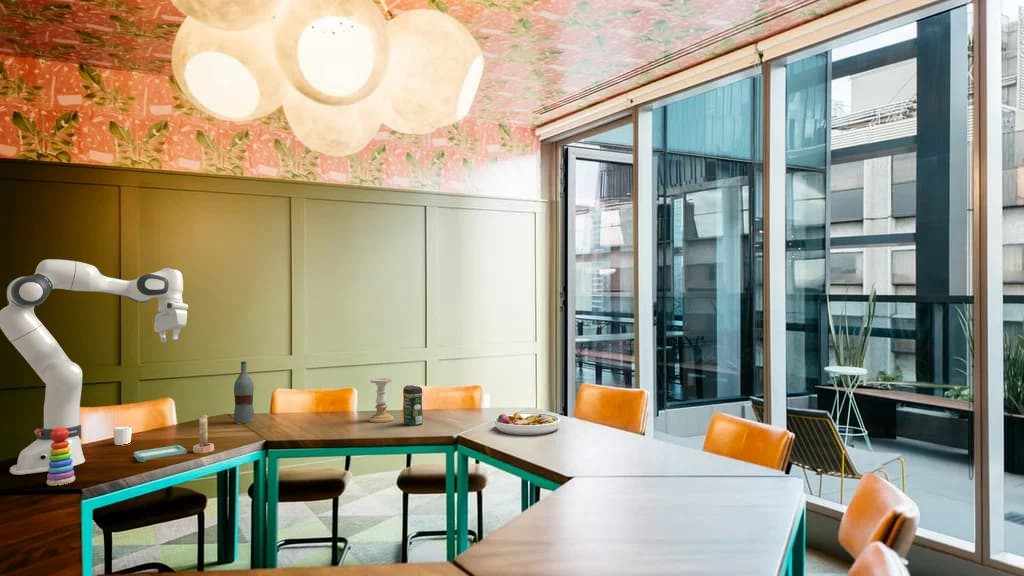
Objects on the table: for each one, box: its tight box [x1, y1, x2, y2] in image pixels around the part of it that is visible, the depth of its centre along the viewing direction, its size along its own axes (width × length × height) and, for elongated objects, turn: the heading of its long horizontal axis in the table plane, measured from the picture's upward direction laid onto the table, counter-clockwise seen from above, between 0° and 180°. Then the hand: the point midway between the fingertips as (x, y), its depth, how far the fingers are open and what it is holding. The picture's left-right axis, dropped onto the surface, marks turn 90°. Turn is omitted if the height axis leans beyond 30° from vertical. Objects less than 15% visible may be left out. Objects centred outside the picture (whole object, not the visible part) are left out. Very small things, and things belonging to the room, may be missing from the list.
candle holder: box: [368, 378, 395, 424], centre depth 317 cm, size 12×12×20 cm
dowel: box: [199, 414, 208, 447], centre depth 255 cm, size 3×3×14 cm
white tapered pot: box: [112, 425, 133, 446], centre depth 271 cm, size 7×7×7 cm
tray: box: [133, 444, 188, 463], centre depth 249 cm, size 16×11×2 cm
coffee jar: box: [402, 384, 424, 427], centre depth 307 cm, size 10×8×19 cm
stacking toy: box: [46, 427, 76, 487], centre depth 215 cm, size 8×8×19 cm
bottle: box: [233, 361, 255, 424], centre depth 315 cm, size 9×9×30 cm
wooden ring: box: [192, 442, 215, 454], centre depth 254 cm, size 7×7×3 cm
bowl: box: [494, 412, 561, 436], centre depth 293 cm, size 30×30×8 cm
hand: (169, 340), depth 261 cm, fingers open, 8 cm apart
